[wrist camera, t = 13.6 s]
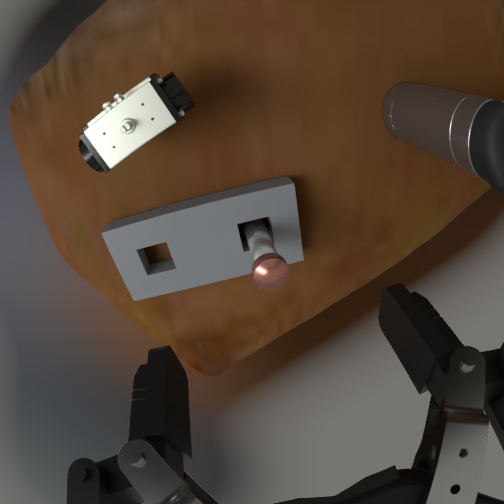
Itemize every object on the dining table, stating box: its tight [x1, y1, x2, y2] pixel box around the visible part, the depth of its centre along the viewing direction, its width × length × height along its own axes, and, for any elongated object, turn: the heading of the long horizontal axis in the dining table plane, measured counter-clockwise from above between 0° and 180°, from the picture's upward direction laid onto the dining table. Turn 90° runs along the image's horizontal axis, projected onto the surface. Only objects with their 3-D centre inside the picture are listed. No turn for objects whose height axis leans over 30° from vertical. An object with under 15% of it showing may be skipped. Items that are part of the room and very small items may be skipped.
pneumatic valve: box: [79, 72, 195, 173], centre depth 28 cm, size 6×12×12 cm, turn 119°
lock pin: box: [243, 218, 290, 290], centre depth 39 cm, size 4×4×12 cm
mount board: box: [102, 176, 304, 301], centre depth 42 cm, size 26×12×3 cm, turn 101°
